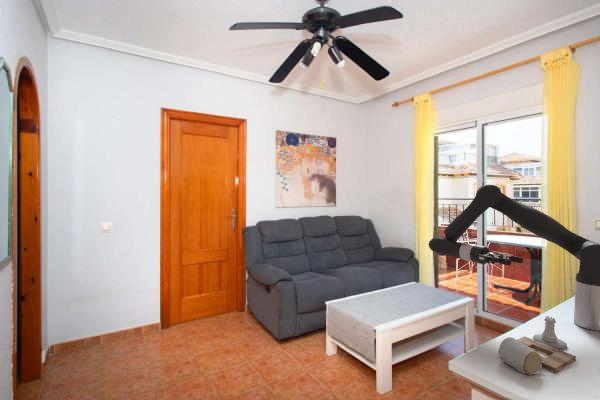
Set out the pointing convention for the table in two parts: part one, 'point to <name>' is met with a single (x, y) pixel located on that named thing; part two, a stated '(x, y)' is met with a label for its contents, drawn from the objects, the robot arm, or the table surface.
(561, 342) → the slate-grey pad
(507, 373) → the table surface
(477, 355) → the table surface
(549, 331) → the rook chess piece
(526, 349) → the ceramic mug
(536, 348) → the walnut frame
